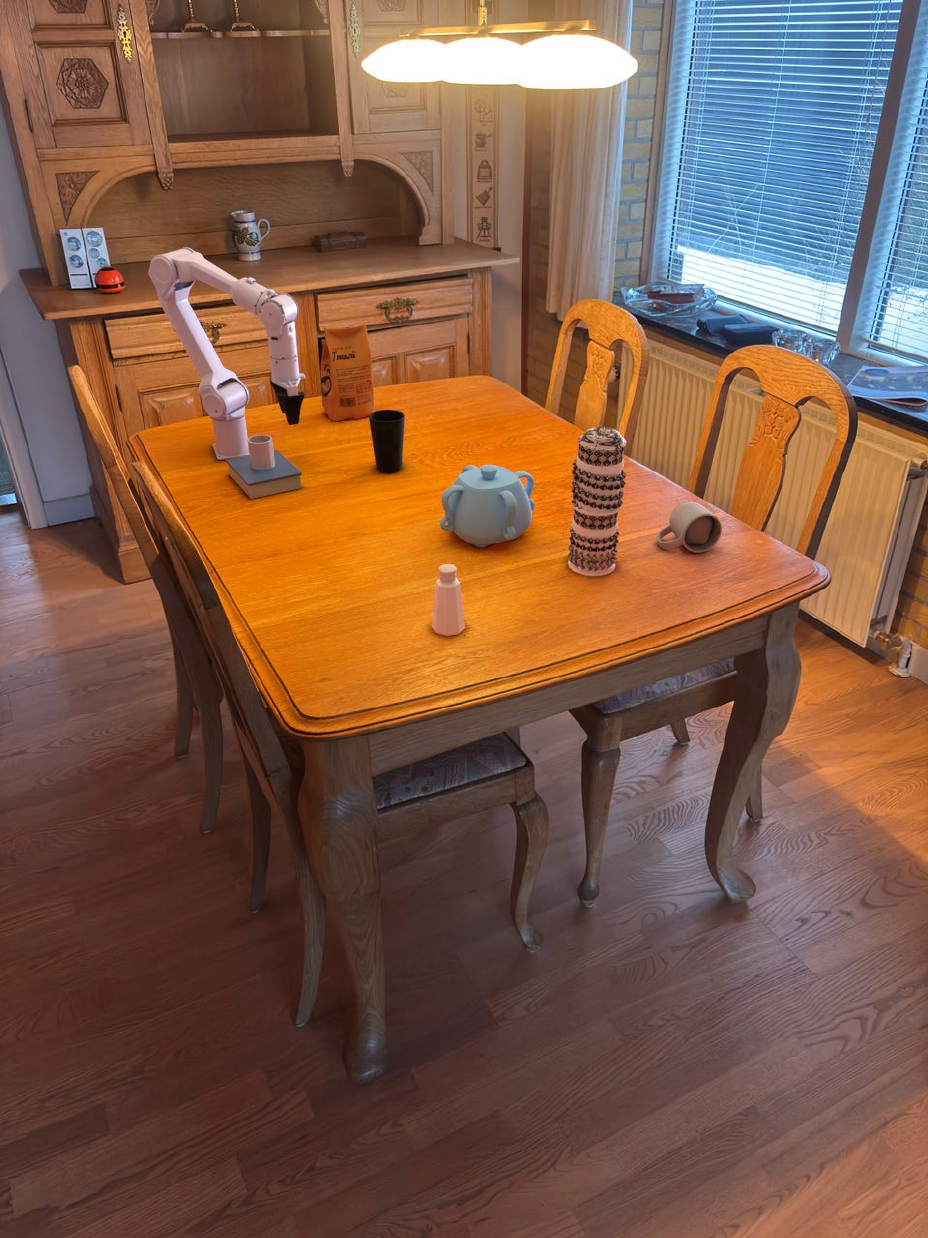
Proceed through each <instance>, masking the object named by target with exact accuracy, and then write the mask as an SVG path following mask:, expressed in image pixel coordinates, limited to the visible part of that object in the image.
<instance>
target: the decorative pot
mask: <svg viewBox="0 0 928 1238" xmlns="http://www.w3.org/2000/svg"><path fill="white" fill-rule="evenodd" d="M521 478H526V485H525V486H524V485H523V483H522V481H521ZM534 485H535V480H534V476H532V474H530V473H529V472H528V471H523V470H518V471H516V472H515V471H514V472H513V471H511V470H510V469H508V468H506V467H503V466H498V465H494V464H483V465H481V466H480V467H477V465H472V464H471V465H470V464H469V465H466V466H464V467H463V468H462V470H461V473H460V474H459V475H457V477H456V479H455V481H454V482H453V484H452V485H451V486H448V487H447V488H446V489H445V490H443V492H442V494H441V505H442V508H443V511H444V517H442V518H441V519H440V521H439V527H440V529H441V530H442V531H446V532H451V531H452V532H453V533H454V534H455V535H456V536H457V537H459V538H460V539H461V540H463V541H465V542H466V543H468V544H472V545H474V546H475V547H477V548H485V547H488V545H492V544H493V545H495V544H500V543H504V542H509V541H513V540H516V539H518V538H519V537H520V536H522V535H523V534H524V533H525V532H526V531H527V530H528V529H529V527H530V526H531V523H532V521H533V514H532V513H533V511H534V509H535V507H536V505H535V504H536V503H535V502H534V500H533V499H532V498H531V495H532V494H533V489H534ZM446 523H447V524H446Z"/></svg>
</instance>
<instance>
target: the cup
mask: <svg viewBox="0 0 928 1238" xmlns="http://www.w3.org/2000/svg"><path fill="white" fill-rule="evenodd" d="M405 420H406V415H405V413H404V412H402V411H400V410H395V409H381V410H375V412H373V413H371V414H370V415H369V416H368V421H369V427H370V428H369V429H370V434H371V439H372V447H373V455H374V461H375V466H376V470H377V471H378V472H380V473H382V474H395V473H398V472H400V471H402V469H403V456H404V454H403V453H404V438H405V422H406V421H405Z"/></svg>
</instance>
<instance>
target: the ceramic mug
mask: <svg viewBox="0 0 928 1238" xmlns="http://www.w3.org/2000/svg"><path fill="white" fill-rule="evenodd" d="M722 532H723V526H722V522H721V520H720V518H719V517H718V516H717V515H715V514H714V513H713V512H712V511H710V510H709V509H708V508H706V507H705V506H704V505H702V504H701V503H698V502H695V501H691V500H689V501H684V502H681V503H680V504H678V505H677V506H676V507H674V508H673V510H672V512H671V513H670V516H669V525H666V526H665V527H664V528H662V529H660V530H659V531H658V532H657V534H656V541H657V544H658V547H660V548H661V549H663V550H672V549H675V548H678V547H681V546H683V547H684V548H685V549H686V550H688V551H689V552H692V553H698V554H699V553H704V552H707V551H709V550H712V548H713V547H715V546H716V545H717V544H718V543H719V541H720V539H721V536H722ZM671 533H673V534H674V536H675V539H673V540H669V541H663V538H664V537H666V536H667V535H669V534H671Z"/></svg>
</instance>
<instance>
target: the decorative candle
mask: <svg viewBox="0 0 928 1238" xmlns="http://www.w3.org/2000/svg"><path fill="white" fill-rule="evenodd" d="M577 442H578V451H577V456H576V459H574V460H573V463H572V466H573V467H572V468H573V469H572V470H571V474H572V475H573V477H572V481H571V484H572V489H571V490H570V491H571V493H572V500H571V505H572V507H573V518H572V522H571V523H572V524H571V528H570V529H569V532H570V536H569V538H568V539H569V541H570V542H569V545H568V551H569V552H568V554H567V557H568V561H567V565H568V567H569V569H570V570H572V572H574V573H576V574H579V575H582V576H586V577H602V576H606V575H610V573H612V572H614V571H615V569H616V560H618V557H617V553H618V551H619V550H618V548H617V546H618V543H619V539H618V537H619V535H620V532H619V531H618V530H619V529H618V526H619V521H618V517H619V511H621V509H622V505H623V504H624V502H623V500H622V498H623V497H624V495H625V493H624V492H623V491H622V490H621V489H623V488H625V486H626V485H627V484H626V481H625V479H626V478H627V472H625V470H624V469H623V468H624V467H625V466H624V465H625V458H624V453H625V447H626V446H627V444H628V441H627V439H626V438H625V437H623V436H622V435H621V433H620V432H619V431H618V430H617V429H615V428H611V427H606V426H596V427H591V428H589V429H587V430H586V431H585V432H584V433H583V434H582V435H580V436H579V437H578V438H577Z"/></svg>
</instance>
